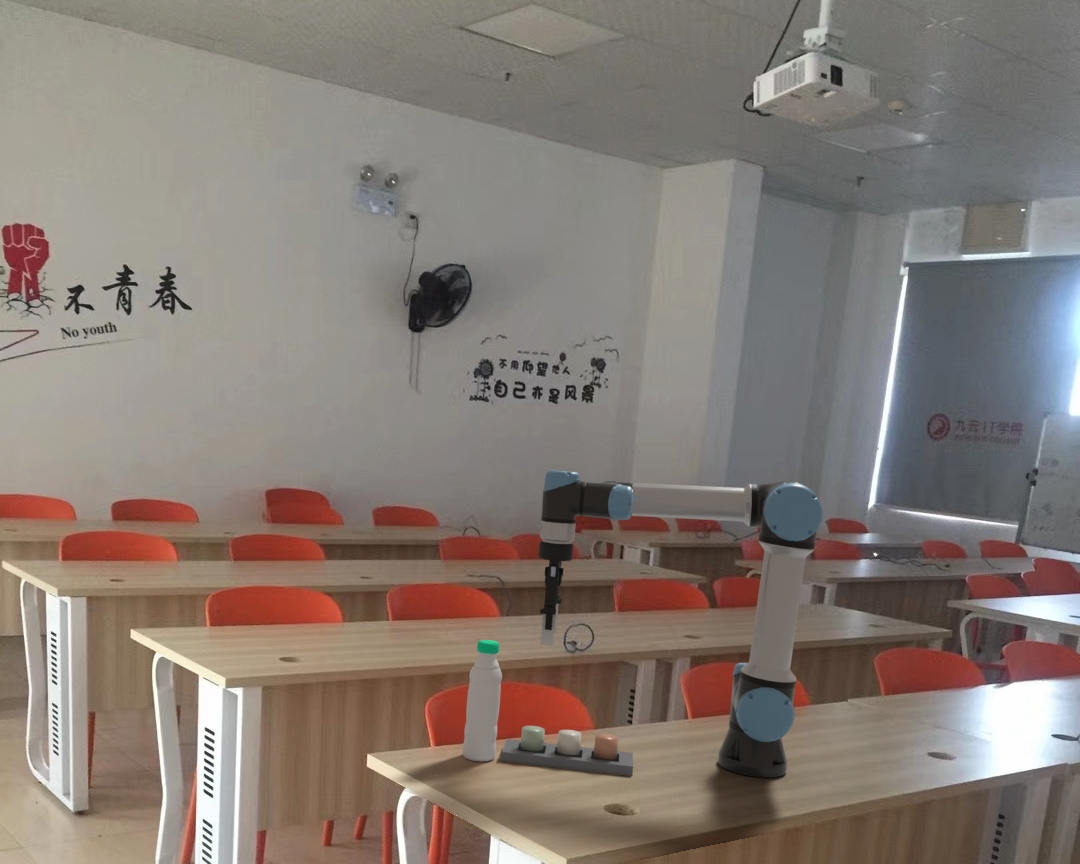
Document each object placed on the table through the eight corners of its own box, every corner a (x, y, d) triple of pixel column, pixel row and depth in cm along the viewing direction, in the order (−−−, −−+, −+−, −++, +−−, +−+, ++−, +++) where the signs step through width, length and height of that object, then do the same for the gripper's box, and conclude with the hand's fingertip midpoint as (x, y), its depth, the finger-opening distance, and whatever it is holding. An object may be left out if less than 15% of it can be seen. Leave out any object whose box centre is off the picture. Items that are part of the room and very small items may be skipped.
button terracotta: (616, 753, 232) (618, 735, 232) (616, 760, 227) (618, 741, 227) (594, 750, 232) (595, 732, 232) (593, 757, 227) (595, 739, 227)
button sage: (544, 745, 233) (545, 727, 233) (542, 751, 228) (544, 733, 228) (521, 742, 233) (523, 724, 233) (519, 749, 228) (521, 730, 228)
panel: (631, 761, 234) (632, 752, 234) (632, 775, 224) (633, 766, 224) (506, 747, 236) (507, 738, 236) (501, 761, 226) (501, 751, 226)
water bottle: (490, 764, 223) (501, 646, 223) (458, 759, 225) (468, 642, 225) (498, 755, 230) (508, 640, 230) (466, 750, 232) (476, 636, 232)
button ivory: (580, 749, 232) (581, 731, 232) (579, 756, 227) (581, 737, 227) (557, 746, 233) (559, 728, 233) (556, 753, 228) (557, 734, 228)
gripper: (542, 534, 243) (534, 627, 243) (536, 545, 218) (527, 648, 218) (575, 537, 243) (567, 630, 243) (572, 548, 218) (563, 651, 218)
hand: (548, 638), depth 230 cm, fingers open, 13 cm apart
